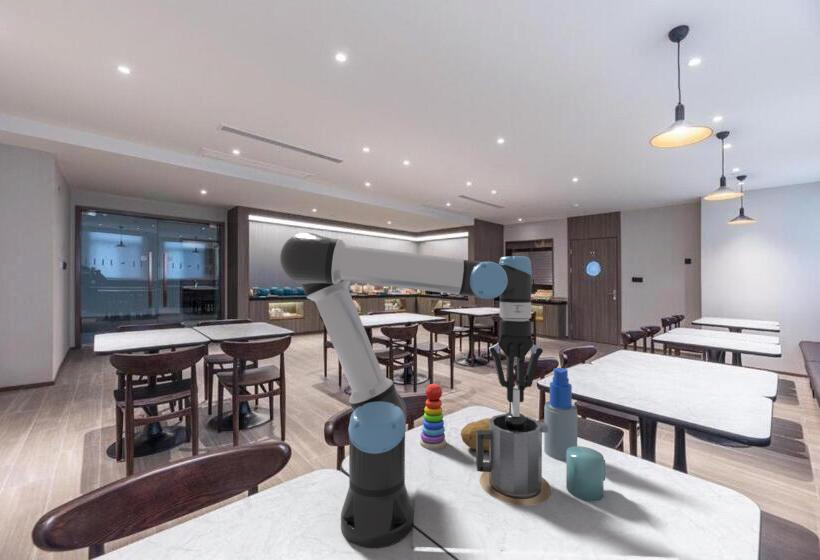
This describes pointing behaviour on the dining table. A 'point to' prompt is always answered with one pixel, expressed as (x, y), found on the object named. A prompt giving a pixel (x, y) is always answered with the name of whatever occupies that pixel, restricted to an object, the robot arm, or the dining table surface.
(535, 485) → the carafe
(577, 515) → the dining table surface
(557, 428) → the spray bottle
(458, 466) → the dining table surface
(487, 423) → the potato
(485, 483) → the trivet
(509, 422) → the plunger
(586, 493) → the mug
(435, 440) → the stacking toy
